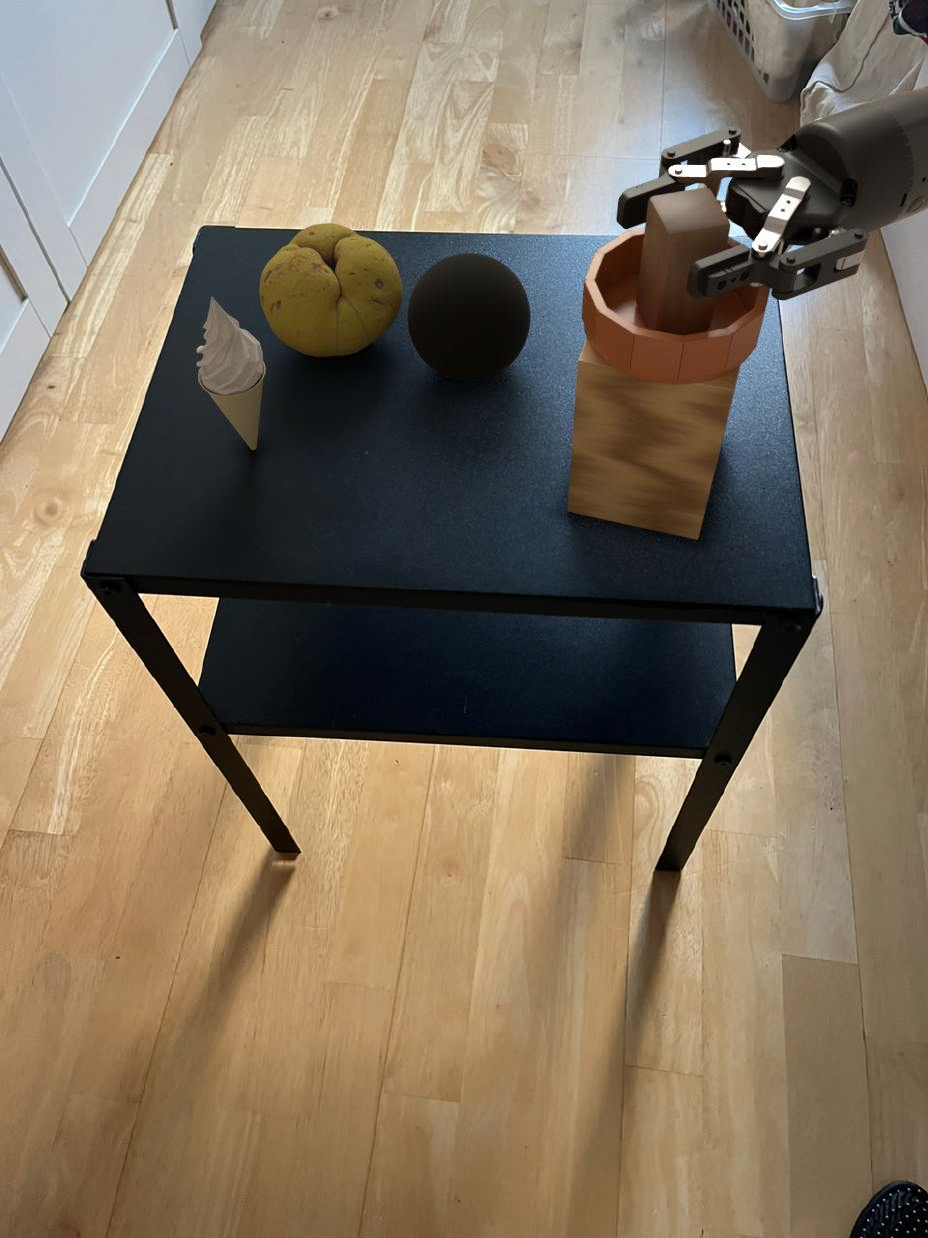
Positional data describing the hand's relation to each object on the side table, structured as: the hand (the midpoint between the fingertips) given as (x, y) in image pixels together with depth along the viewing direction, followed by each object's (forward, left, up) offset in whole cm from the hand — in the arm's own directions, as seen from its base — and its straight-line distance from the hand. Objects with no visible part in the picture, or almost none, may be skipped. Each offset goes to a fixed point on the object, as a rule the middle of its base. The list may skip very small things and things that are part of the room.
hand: (654, 246), depth 62 cm
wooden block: (-2, -2, -6) cm, 7 cm away
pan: (-2, -5, -7) cm, 9 cm away
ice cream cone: (+29, +4, -22) cm, 37 cm away
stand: (-2, -2, -22) cm, 22 cm away
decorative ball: (+15, -10, -22) cm, 29 cm away
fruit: (+27, -10, -22) cm, 37 cm away
